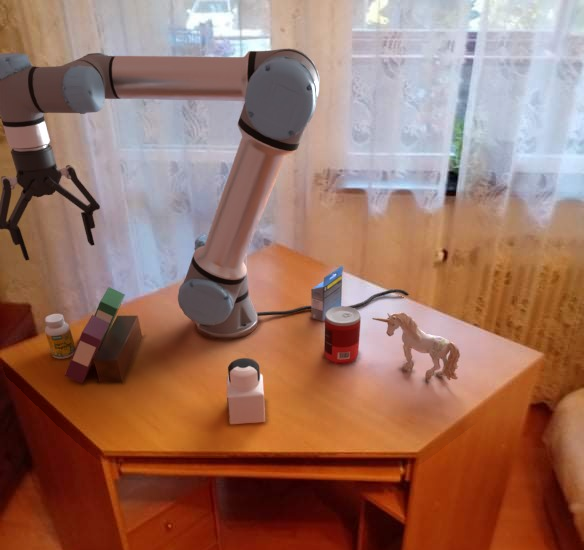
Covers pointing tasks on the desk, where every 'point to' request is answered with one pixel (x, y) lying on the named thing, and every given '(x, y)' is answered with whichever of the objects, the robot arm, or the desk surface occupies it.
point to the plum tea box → (87, 349)
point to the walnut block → (118, 349)
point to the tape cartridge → (326, 295)
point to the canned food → (342, 334)
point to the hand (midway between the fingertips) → (59, 250)
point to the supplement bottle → (59, 336)
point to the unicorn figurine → (424, 345)
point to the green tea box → (109, 307)
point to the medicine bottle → (245, 392)
